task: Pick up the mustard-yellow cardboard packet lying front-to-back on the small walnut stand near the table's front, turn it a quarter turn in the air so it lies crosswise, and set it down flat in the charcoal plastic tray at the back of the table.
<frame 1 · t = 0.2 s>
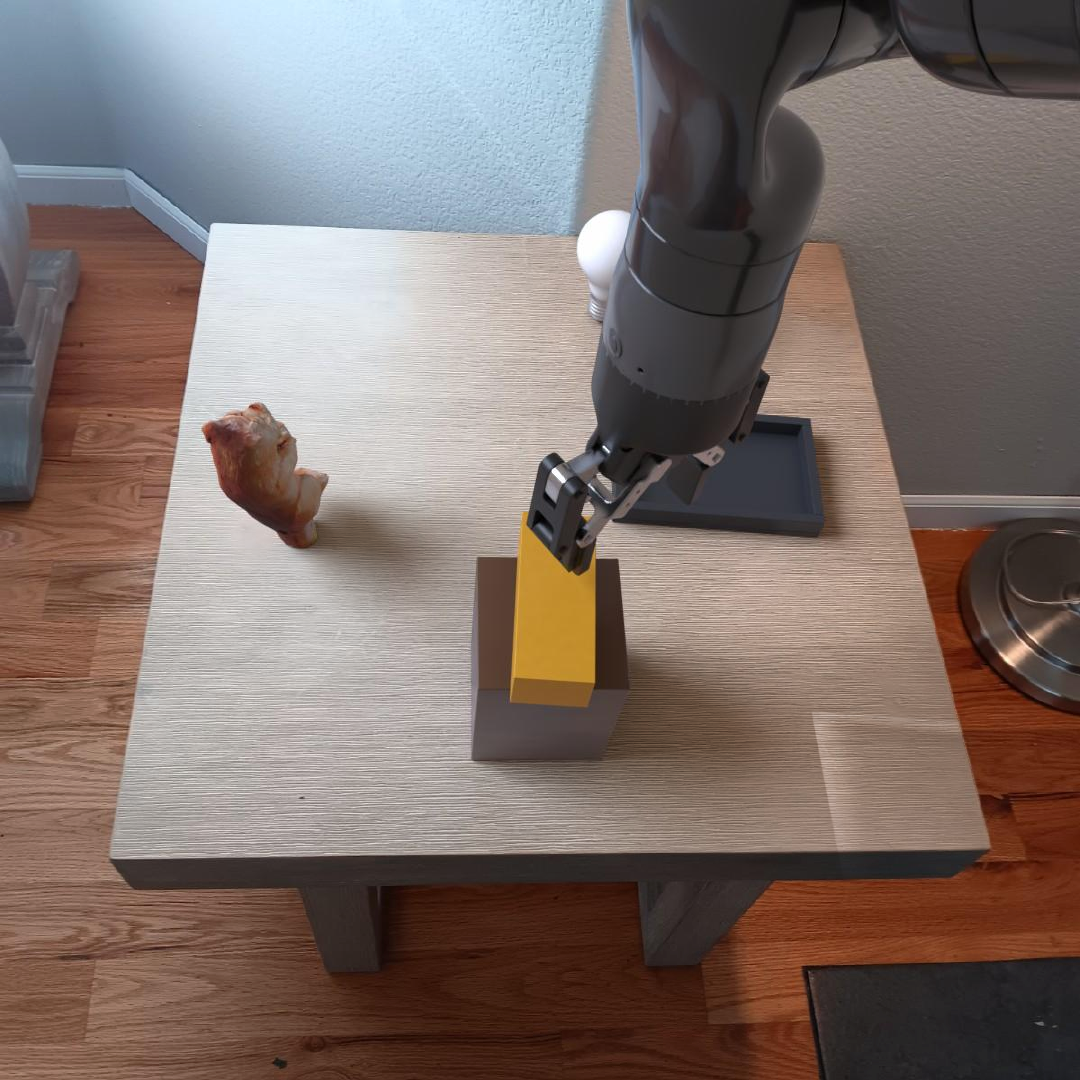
hand: (627, 526, 59), 17 cm above the table, tool pointing down, fingers open, 8 cm apart
stand: (534, 698, 71), on the table
lightbulb: (601, 317, 92), on the table
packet: (551, 620, 61), point 12 cm above the table, touching stand
tray: (711, 476, 83), on the table
figurine: (286, 533, 77), on the table
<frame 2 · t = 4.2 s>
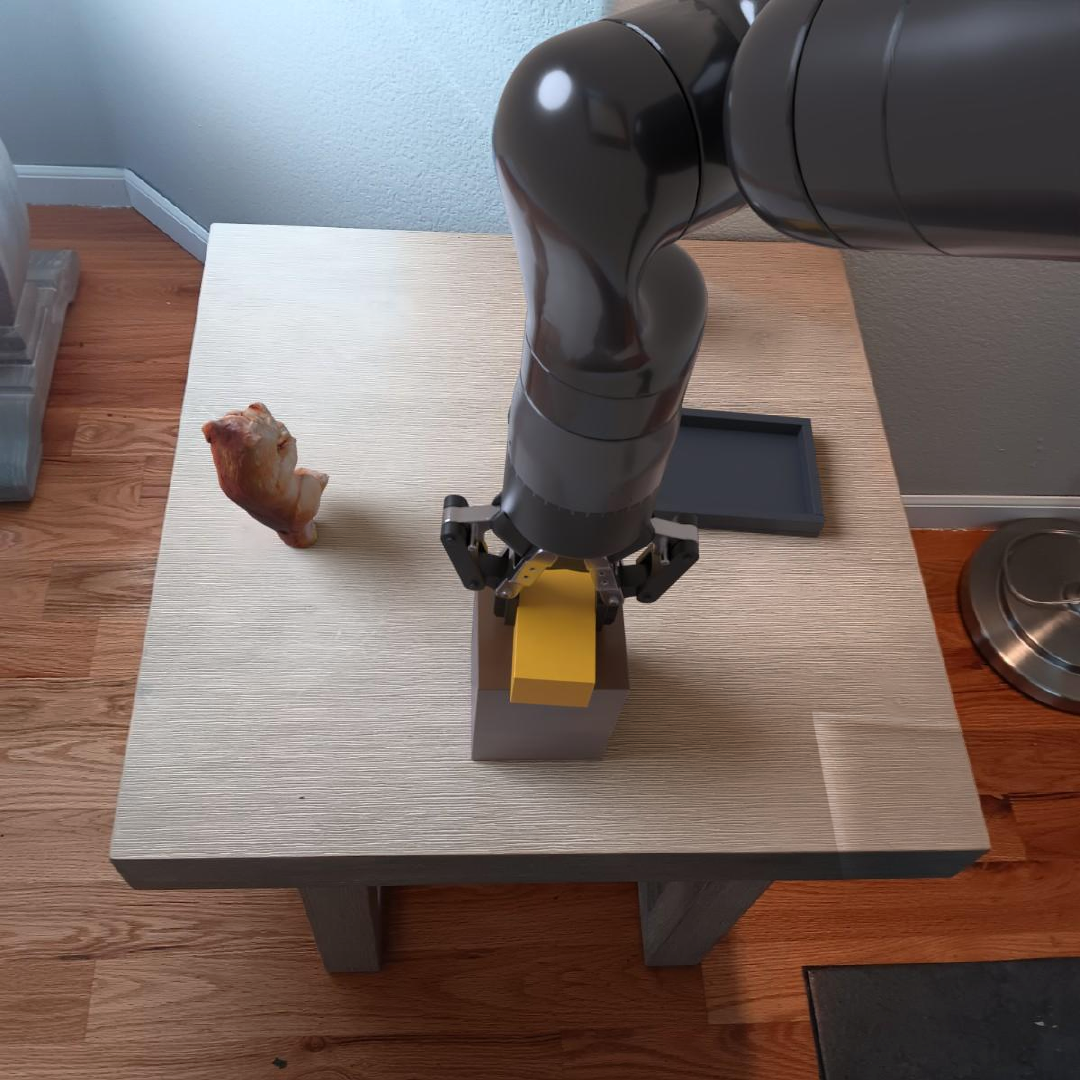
hand: (553, 614, 60), 13 cm above the table, tool pointing down, fingers closed on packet, 4 cm apart
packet: (551, 620, 61), point 12 cm above the table, touching gripper, stand
everything else where it was.
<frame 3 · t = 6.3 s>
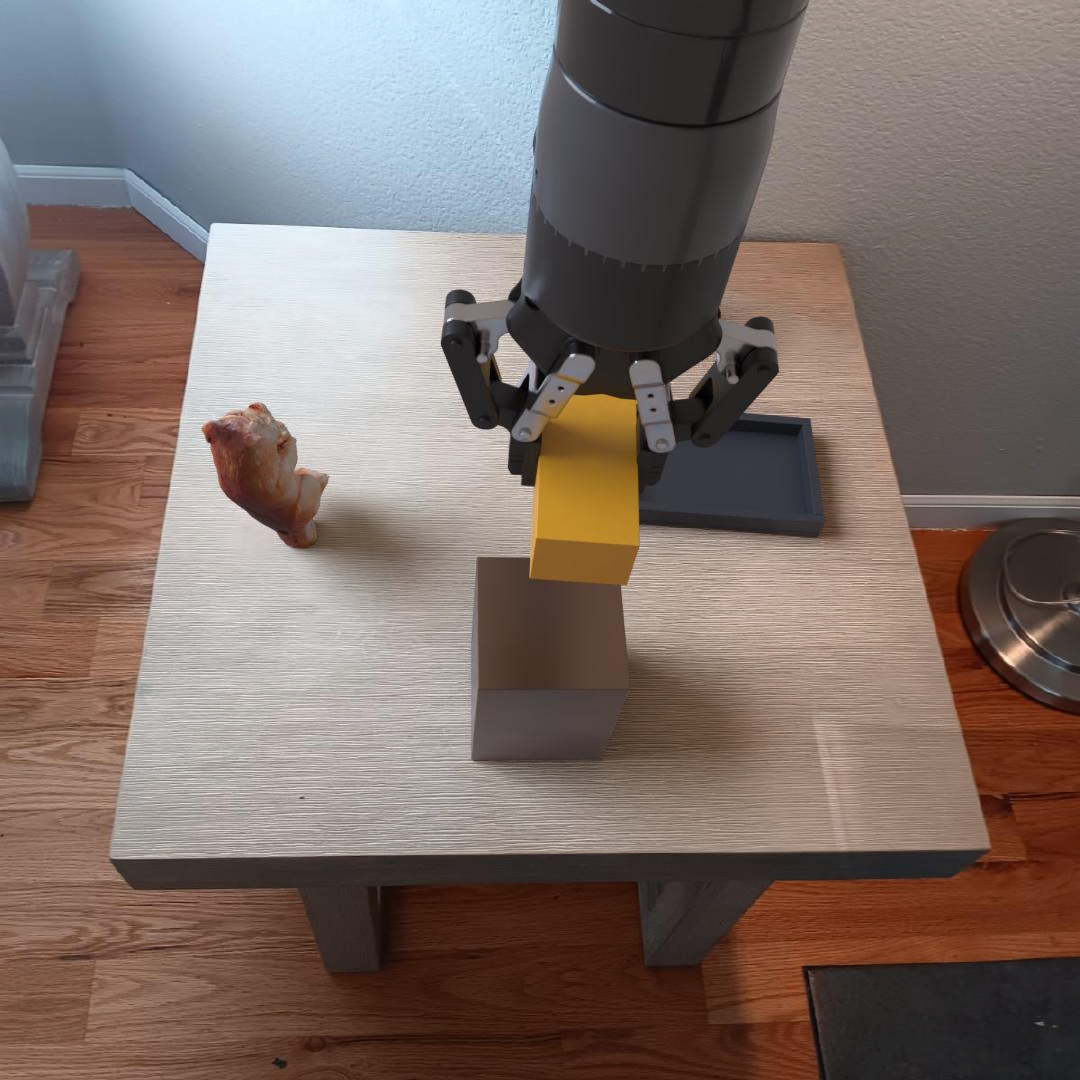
hand: (582, 474, 48), 27 cm above the table, tool pointing down, fingers closed on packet, 4 cm apart
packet: (579, 484, 49), point 26 cm above the table, touching gripper
everything else where it was.
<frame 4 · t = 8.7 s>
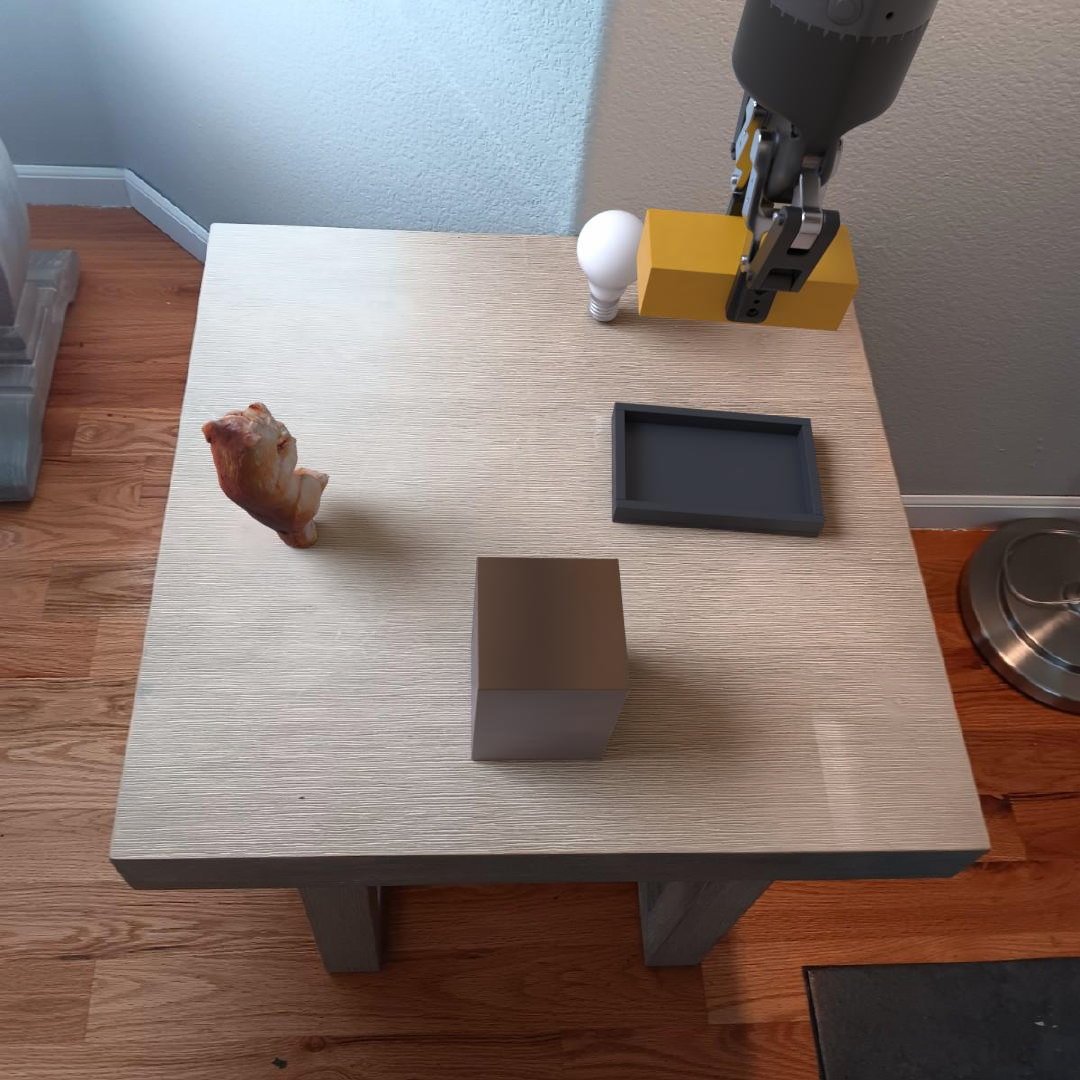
hand: (739, 282, 55), 28 cm above the table, tool pointing down, fingers closed on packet, 4 cm apart
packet: (735, 294, 56), point 27 cm above the table, touching gripper
everything else where it was.
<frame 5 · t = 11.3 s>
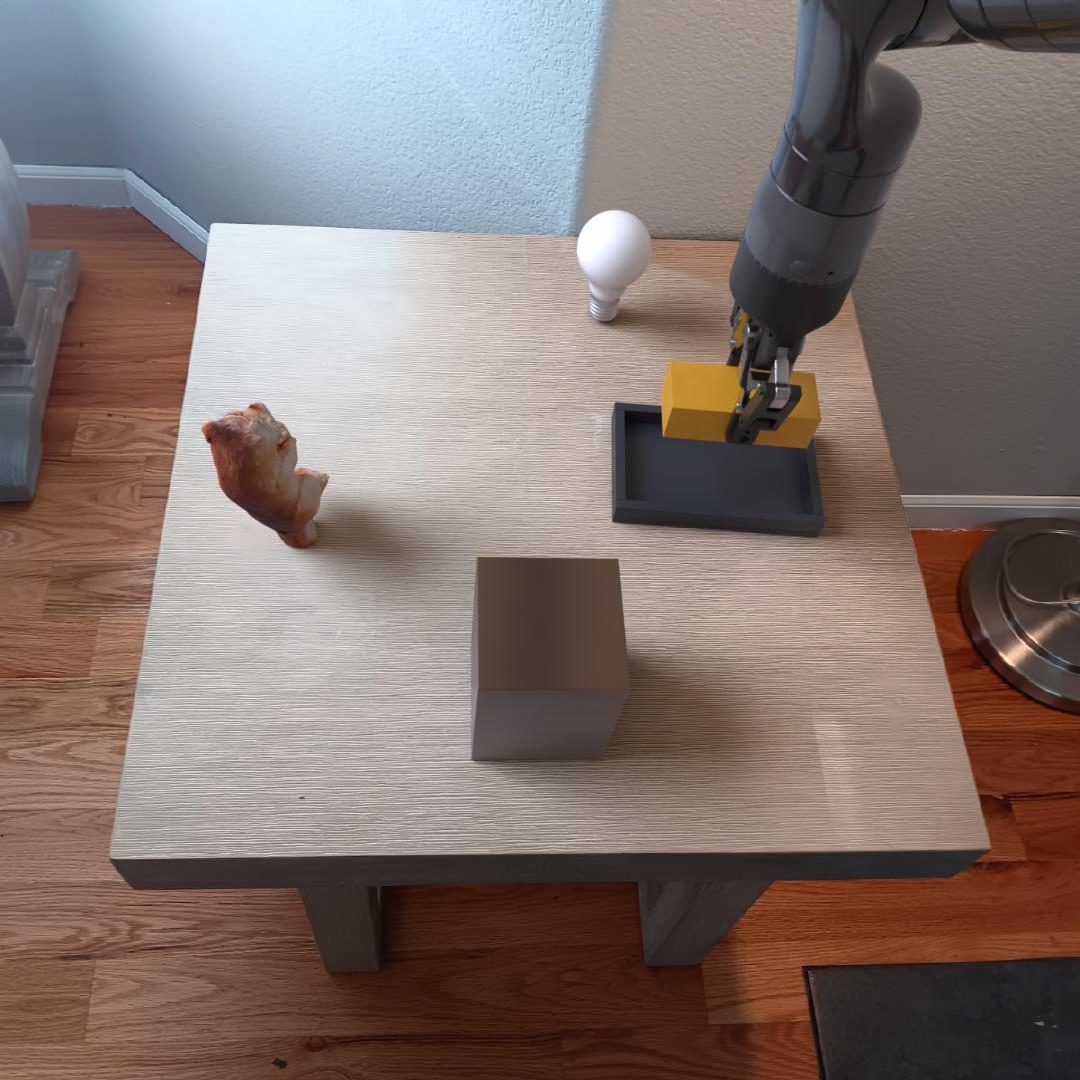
hand: (736, 412, 76), 8 cm above the table, tool pointing down, fingers closed on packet, 4 cm apart
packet: (732, 419, 77), point 7 cm above the table, touching gripper
everything else where it was.
when the fingers open (1 cm above the table, at t = 13.4 s): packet stays where it is, resting on tray.
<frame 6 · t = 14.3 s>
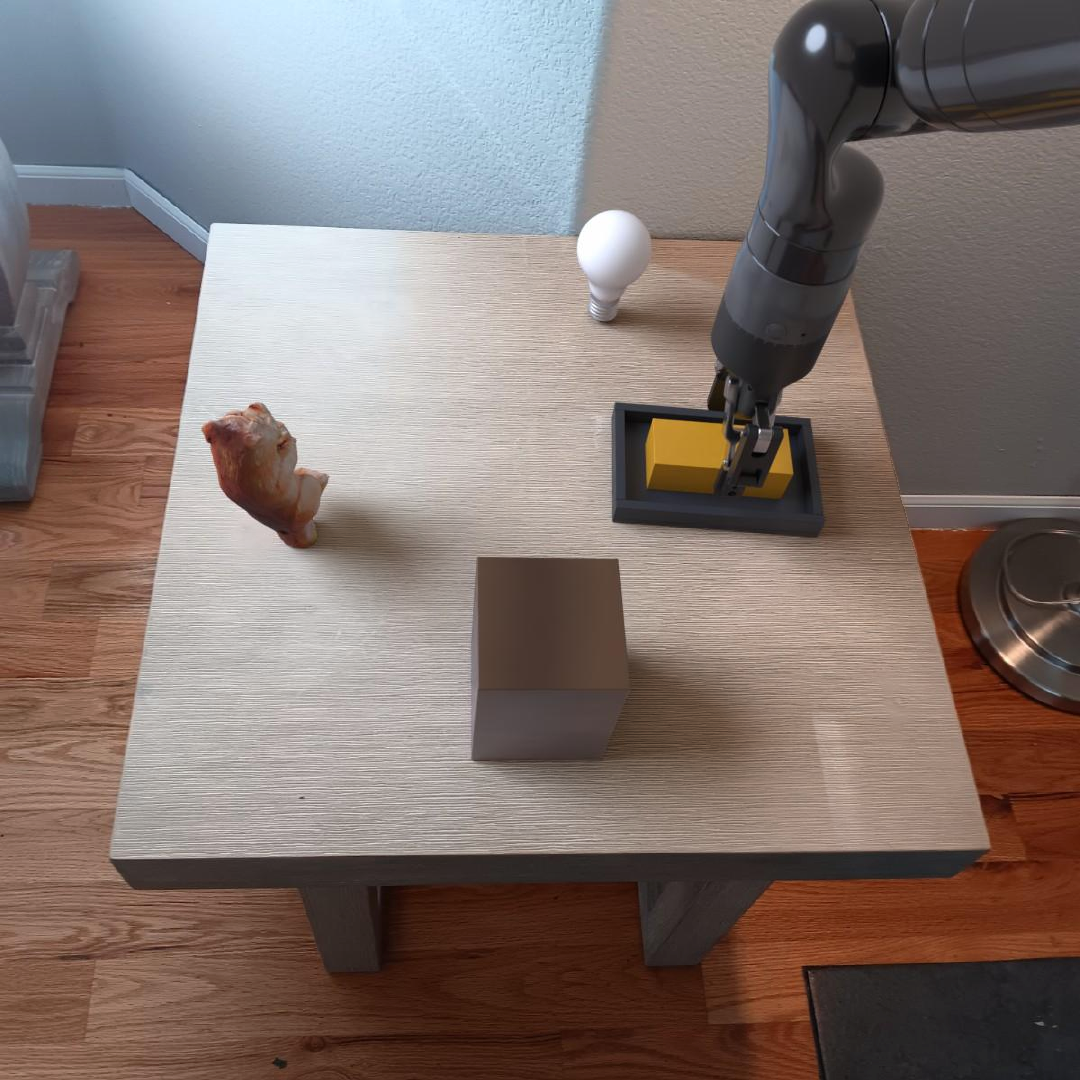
hand: (722, 449, 80), 4 cm above the table, tool pointing down, fingers open, 8 cm apart
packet: (712, 471, 83), point 1 cm above the table, touching tray
everything else where it was.
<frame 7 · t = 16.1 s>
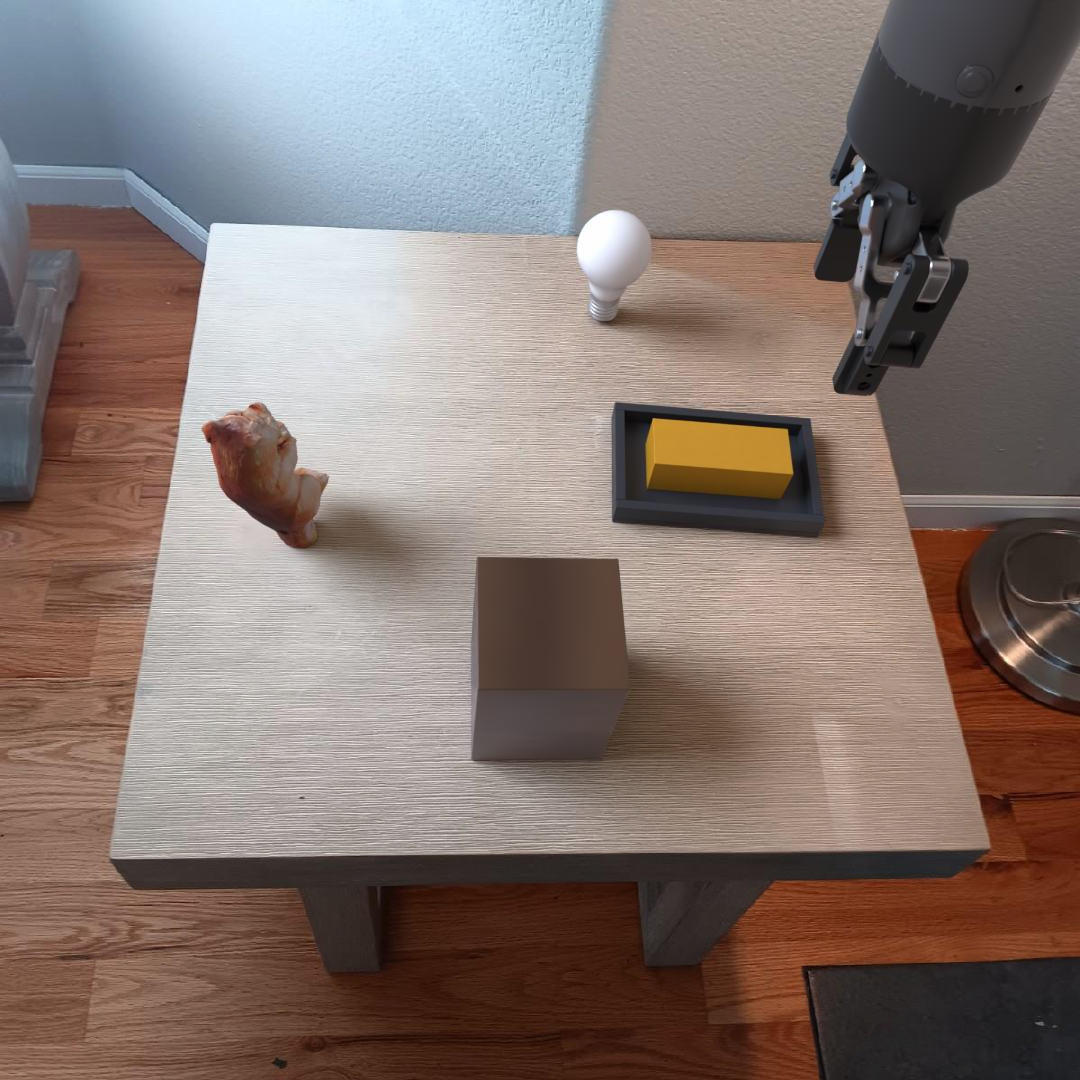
hand: (840, 330, 55), 27 cm above the table, tool pointing down, fingers open, 8 cm apart
nothing on the table moved.
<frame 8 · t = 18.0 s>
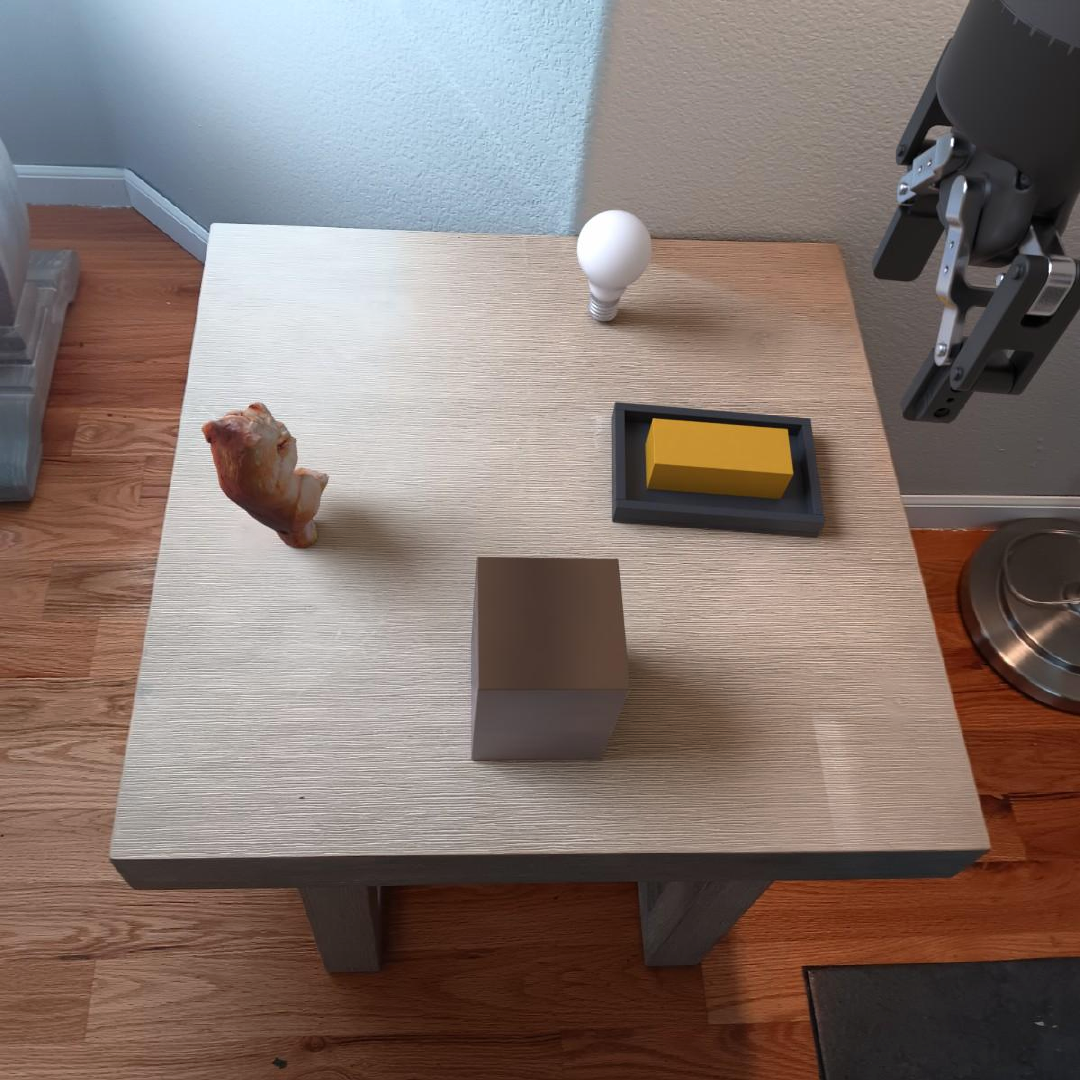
hand: (906, 341, 45), 34 cm above the table, tool pointing down, fingers open, 8 cm apart
nothing on the table moved.
at the end: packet inside the target area in the tray (0.0 cm from its centre), point 0.6 cm above the tray's base; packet tilted 0°; the gripper is holding nothing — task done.
